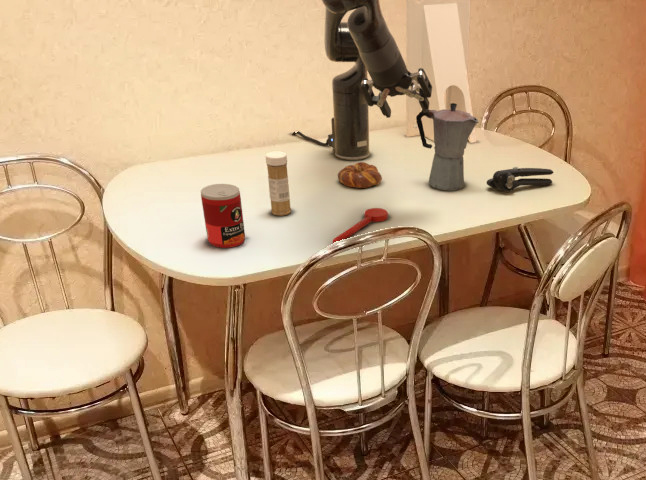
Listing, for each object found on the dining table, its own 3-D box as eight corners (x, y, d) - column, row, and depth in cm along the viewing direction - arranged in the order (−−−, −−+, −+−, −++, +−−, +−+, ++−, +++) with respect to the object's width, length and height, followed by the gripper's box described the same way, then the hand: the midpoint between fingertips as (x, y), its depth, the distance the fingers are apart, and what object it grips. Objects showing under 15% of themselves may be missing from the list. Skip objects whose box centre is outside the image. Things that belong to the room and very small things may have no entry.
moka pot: (472, 194, 188) (476, 110, 177) (410, 188, 190) (411, 105, 179) (478, 181, 196) (483, 100, 184) (418, 176, 198) (420, 95, 187)
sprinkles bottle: (289, 207, 178) (284, 149, 171) (293, 215, 175) (288, 156, 167) (269, 210, 177) (263, 151, 169) (272, 217, 173) (267, 157, 166)
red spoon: (344, 248, 160) (344, 242, 160) (323, 243, 162) (323, 237, 161) (391, 215, 176) (391, 209, 175) (371, 211, 178) (371, 205, 177)
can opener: (496, 197, 187) (498, 174, 184) (483, 187, 192) (485, 165, 189) (559, 188, 193) (562, 166, 190) (545, 179, 198) (547, 157, 195)
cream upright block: (431, 149, 217) (434, -10, 194) (406, 135, 227) (406, -17, 204) (489, 139, 225) (499, -14, 203) (463, 127, 235) (469, -20, 213)
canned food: (227, 251, 158) (220, 199, 152) (199, 242, 161) (191, 191, 155) (253, 239, 163) (248, 188, 157) (226, 230, 167) (219, 180, 160)
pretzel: (338, 173, 198) (337, 159, 196) (380, 173, 199) (380, 158, 197) (337, 190, 188) (336, 175, 186) (382, 189, 189) (382, 174, 187)
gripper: (416, 36, 154) (440, 93, 168) (351, 47, 158) (379, 103, 172) (413, 65, 151) (437, 121, 165) (346, 76, 155) (375, 130, 170)
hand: (407, 111), depth 169 cm, fingers open, 8 cm apart
